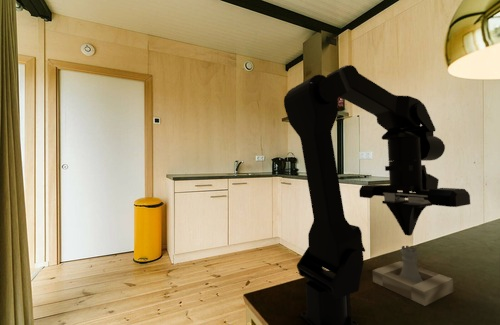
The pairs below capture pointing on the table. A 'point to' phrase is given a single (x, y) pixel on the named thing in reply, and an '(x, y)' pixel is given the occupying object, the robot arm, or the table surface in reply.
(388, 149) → the robot arm
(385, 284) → the socket collar
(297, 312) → the table surface
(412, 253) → the rook chess piece
